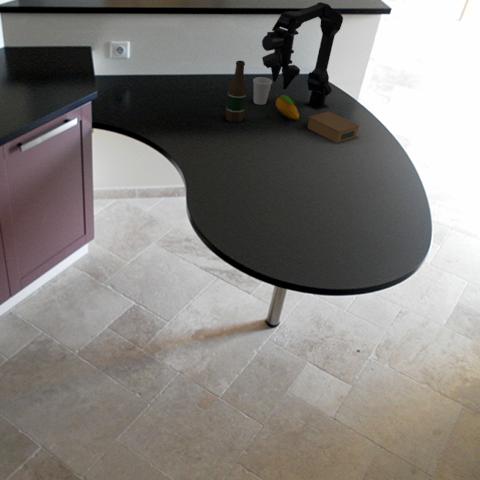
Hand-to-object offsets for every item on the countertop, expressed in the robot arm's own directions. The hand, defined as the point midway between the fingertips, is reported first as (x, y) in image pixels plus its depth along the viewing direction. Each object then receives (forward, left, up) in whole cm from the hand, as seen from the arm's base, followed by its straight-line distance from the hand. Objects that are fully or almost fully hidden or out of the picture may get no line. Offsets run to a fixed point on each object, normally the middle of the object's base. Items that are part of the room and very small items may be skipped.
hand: (279, 85), depth 241 cm
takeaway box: (-10, +23, -14) cm, 29 cm away
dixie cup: (-6, -16, -14) cm, 22 cm away
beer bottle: (+16, -7, -14) cm, 23 cm away
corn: (-6, +2, -14) cm, 15 cm away
